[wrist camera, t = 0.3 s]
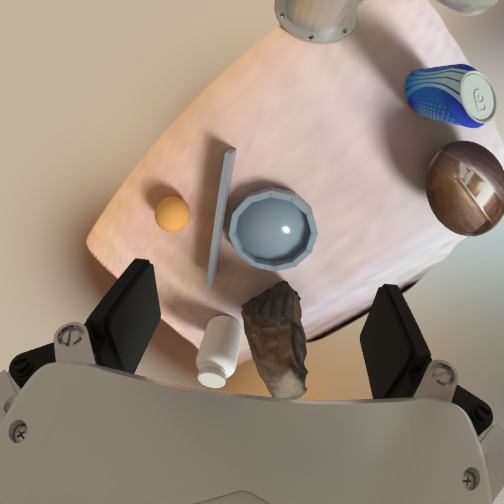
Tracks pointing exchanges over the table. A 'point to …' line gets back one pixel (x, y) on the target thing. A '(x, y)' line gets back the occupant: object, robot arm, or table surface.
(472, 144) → the wooden sphere
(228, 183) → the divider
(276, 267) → the bowl
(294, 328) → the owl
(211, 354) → the pill bottle
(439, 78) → the beer can
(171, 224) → the ball
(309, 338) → the table surface
